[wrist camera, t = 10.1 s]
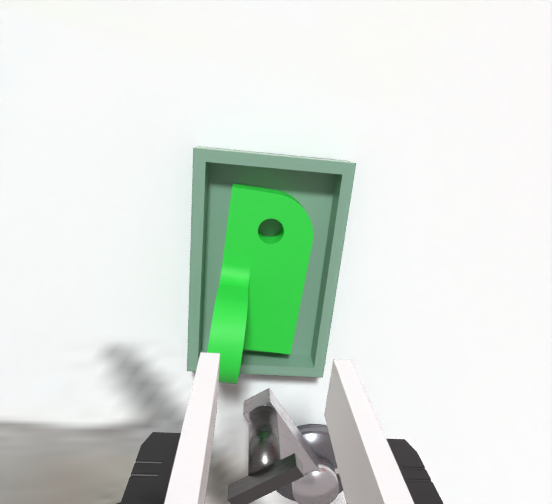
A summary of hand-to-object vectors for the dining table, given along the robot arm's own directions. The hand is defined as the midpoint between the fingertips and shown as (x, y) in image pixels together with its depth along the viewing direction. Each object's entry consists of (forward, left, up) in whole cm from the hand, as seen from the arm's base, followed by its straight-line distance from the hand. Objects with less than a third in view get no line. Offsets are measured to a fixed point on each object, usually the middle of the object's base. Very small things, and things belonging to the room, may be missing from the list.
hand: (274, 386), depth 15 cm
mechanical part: (0, 0, -14) cm, 14 cm away
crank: (+4, -16, -13) cm, 21 cm away
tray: (0, 0, -15) cm, 15 cm away
